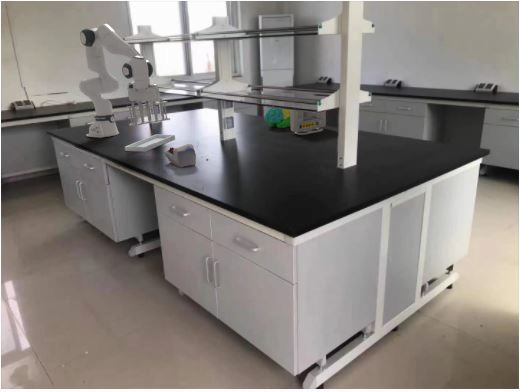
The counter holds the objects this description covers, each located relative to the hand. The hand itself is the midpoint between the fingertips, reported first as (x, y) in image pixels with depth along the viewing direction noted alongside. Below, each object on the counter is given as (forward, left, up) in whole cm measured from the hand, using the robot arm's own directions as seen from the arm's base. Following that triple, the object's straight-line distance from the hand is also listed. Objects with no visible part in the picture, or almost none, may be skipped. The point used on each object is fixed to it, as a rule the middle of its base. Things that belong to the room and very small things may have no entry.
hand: (146, 108), depth 255 cm
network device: (+88, +46, -22) cm, 102 cm away
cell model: (+43, -35, -22) cm, 59 cm away
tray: (0, 0, -22) cm, 22 cm away
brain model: (+65, +60, -22) cm, 91 cm away
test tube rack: (+1, +1, -9) cm, 9 cm away
